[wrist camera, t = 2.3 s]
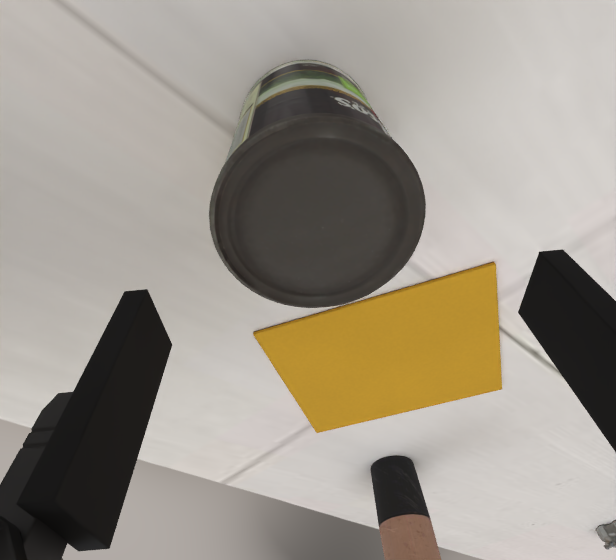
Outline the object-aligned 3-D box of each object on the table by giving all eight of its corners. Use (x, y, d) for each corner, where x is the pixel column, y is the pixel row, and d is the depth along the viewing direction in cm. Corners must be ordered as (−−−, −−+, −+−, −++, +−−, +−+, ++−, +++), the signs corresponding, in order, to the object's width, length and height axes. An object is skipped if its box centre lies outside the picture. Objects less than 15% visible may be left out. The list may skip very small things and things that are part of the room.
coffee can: (319, 22, 25) (348, 56, 14) (396, 146, 30) (461, 242, 19) (207, 123, 28) (160, 215, 17) (294, 218, 34) (299, 335, 23)
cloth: (316, 430, 55) (316, 433, 55) (253, 332, 42) (253, 334, 42) (500, 386, 51) (502, 389, 51) (494, 261, 38) (495, 264, 38)
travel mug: (405, 449, 60) (448, 615, 45) (421, 468, 65) (465, 626, 49) (361, 463, 62) (388, 627, 47) (379, 481, 67) (409, 636, 51)
